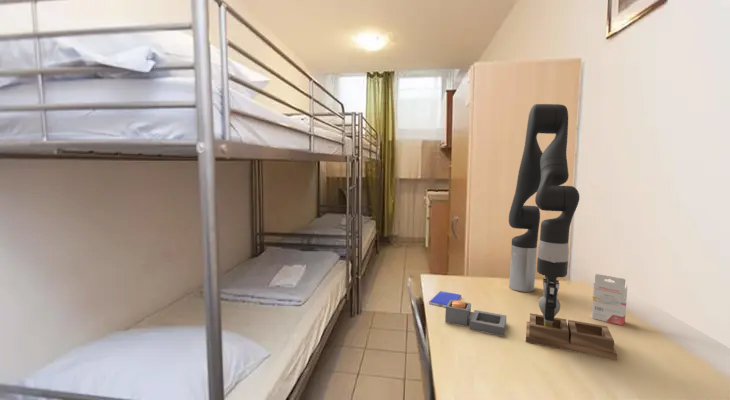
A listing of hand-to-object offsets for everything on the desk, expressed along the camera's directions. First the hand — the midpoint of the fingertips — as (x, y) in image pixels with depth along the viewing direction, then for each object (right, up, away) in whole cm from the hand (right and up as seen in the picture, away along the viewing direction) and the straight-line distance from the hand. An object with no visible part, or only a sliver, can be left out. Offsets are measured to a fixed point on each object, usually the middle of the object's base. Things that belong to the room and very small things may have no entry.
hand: (548, 315), depth 102 cm
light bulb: (0, -4, 0) cm, 4 cm away
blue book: (-23, -4, +28) cm, 36 cm away
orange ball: (-23, -3, +11) cm, 25 cm away
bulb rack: (+4, -7, -2) cm, 8 cm away
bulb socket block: (-18, -5, +9) cm, 21 cm away
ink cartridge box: (+26, -6, +14) cm, 30 cm away
